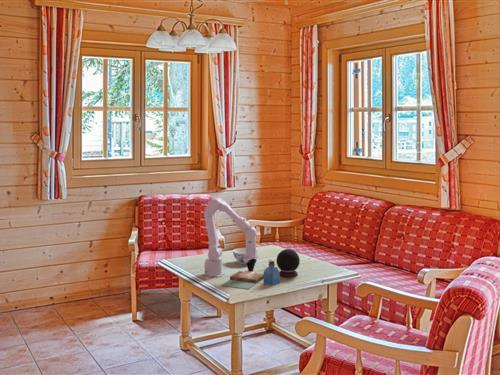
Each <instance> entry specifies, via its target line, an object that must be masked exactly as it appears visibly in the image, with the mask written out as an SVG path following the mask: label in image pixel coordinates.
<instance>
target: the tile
mask: <svg viewBox="0 0 500 375" xmlns="http://www.w3.org/2000/svg"><path fill="white" fill-rule="evenodd" d="M255 273H256V271H254V270H253V271H248V270H244V271H243V272H242V273H241V274H239V277H240V278H247V279H249V278H251V277H252V276H254V275H255Z"/></svg>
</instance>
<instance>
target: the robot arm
mask: <svg viewBox="0 0 500 375" xmlns="http://www.w3.org/2000/svg"><path fill="white" fill-rule="evenodd" d="M217 211H218V212H223V213H226V214H227V216H229V217H230V218H231V219H232V220H233V221H234V223H235V225H236V227H237V228H239V230H240V231H242V232H243V234H244V236H245V248H246V256H245V259H244V262H245V263H246V264H245V265H246V266H247V271H253V272H254V269H255V266H256V263H257V259H258V258H259V256H258V252H257V253H256V250H257V236H256V235H257V232H258V231H257V228H256V227H255V226H253V225H252V224H250V223H249V222H248V221H247V218H246V217H243V216H239V214H237V213H236V211H235V210H234V209H233V208H232V207H230V205H229V204H228V203H227V202H226V201H225V200H224V199H223V198H222V197H220V196H217V197H214V198H213V199H211V200H210V201H208V203H207V204H206V208H205V210H204V213H203V215H204V221H205V227H206V232H207V237H208V244H209V245H208V253H207V256H208V258H206V259H205V261H204V267H203V268H204V274H203V275H204V276H208V277H217V278H220V277H221V276H223V275H224V274H225V272H223V267H222V266H223V264H222V262H223V260H222V259H223V258H222V254H223V249H222V247H221V244H220V242H219V238H218V232H217V227H216V221H215V214H216V213H217Z"/></svg>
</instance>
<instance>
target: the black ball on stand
mask: <svg viewBox="0 0 500 375" xmlns="http://www.w3.org/2000/svg"><path fill="white" fill-rule="evenodd" d="M275 261H276V266H277V268H278V270H279V272H280V278H282V279H283V278H285V279H292V278H293V277H294V278H296V276H297V277H298V275H299V274H298V272H297V271H296V270H297V269H298V268H299V265H300V263H301V261H300V256H299V254H298V253H297V251H295V250H293V249H290V248H285V249H282V250H281V251H280V252H279V253H278V254H277V256H276V259H275ZM294 278H293V279H294Z"/></svg>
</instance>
